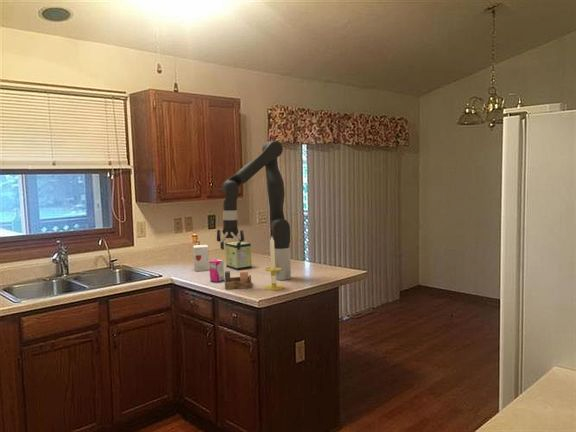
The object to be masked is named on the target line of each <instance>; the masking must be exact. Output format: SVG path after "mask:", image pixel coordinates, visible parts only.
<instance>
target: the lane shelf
mask: <svg viewBox="0 0 576 432" xmlns="http://www.w3.org/2000/svg"><path fill="white" fill-rule="evenodd" d="M251 288H252V275H251V274H248V281H240V276H230V282H225V281H224V289H225V290H236V289H238V290H239V289H240V290H241V289H251Z"/></svg>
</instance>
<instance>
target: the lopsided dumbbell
mask: <svg viewBox="0 0 576 432" xmlns="http://www.w3.org/2000/svg"><path fill="white" fill-rule="evenodd" d="M230 277H231V271H230V270H226V271H225V270H224V278H225V280H224V283H225V282H230ZM239 277H240V281H248V277H249V270H248V269H243V270H239Z"/></svg>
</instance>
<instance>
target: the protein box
mask: <svg viewBox="0 0 576 432" xmlns="http://www.w3.org/2000/svg"><path fill="white" fill-rule="evenodd" d="M237 243H238V242H237V241H231V242H224V250H225V266H226V268H229V269H231V270H234V271H243V270H248V269H252V268H253V264H252V263H253V262H252V248H251V247H252V245H251V243H250V242H245V241H243V242H241V248H240V250H237Z"/></svg>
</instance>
